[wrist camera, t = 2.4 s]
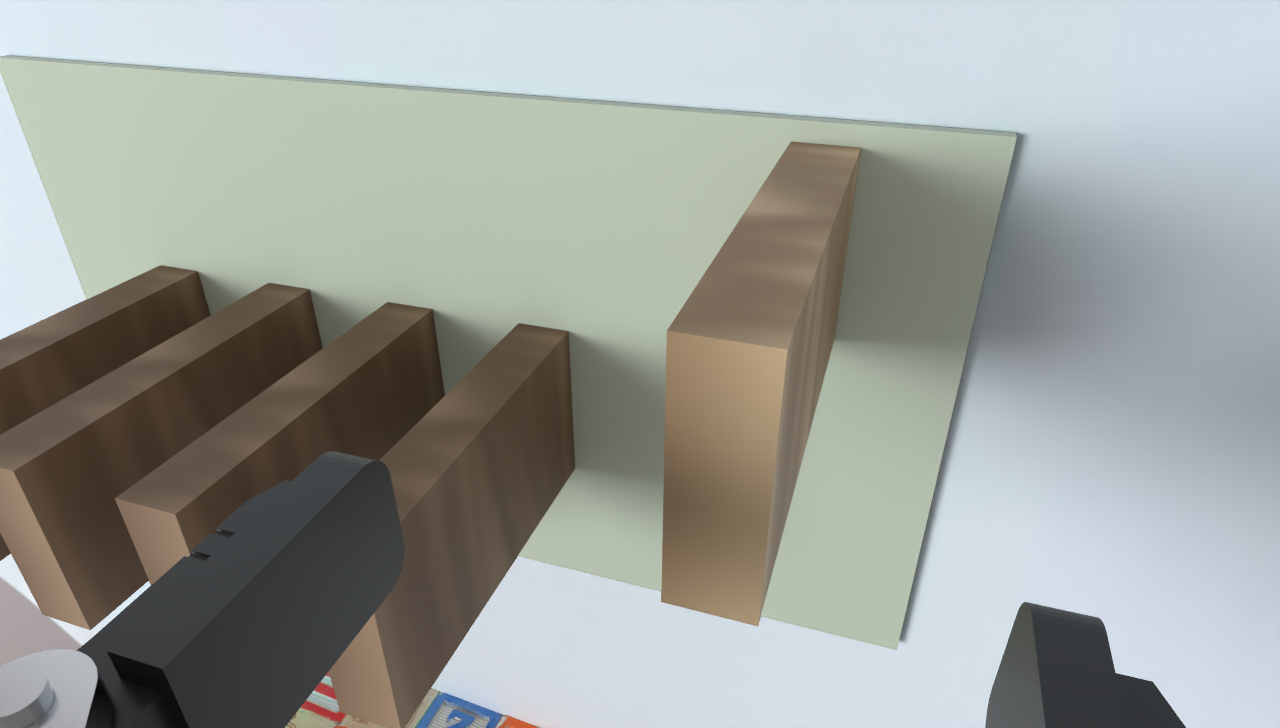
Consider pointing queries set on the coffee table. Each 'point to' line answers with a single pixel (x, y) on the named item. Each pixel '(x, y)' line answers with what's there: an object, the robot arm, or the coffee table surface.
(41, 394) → the domino
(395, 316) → the domino
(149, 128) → the mat
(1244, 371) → the coffee table surface
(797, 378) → the domino
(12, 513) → the domino
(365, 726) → the stack of blocks
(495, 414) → the domino
